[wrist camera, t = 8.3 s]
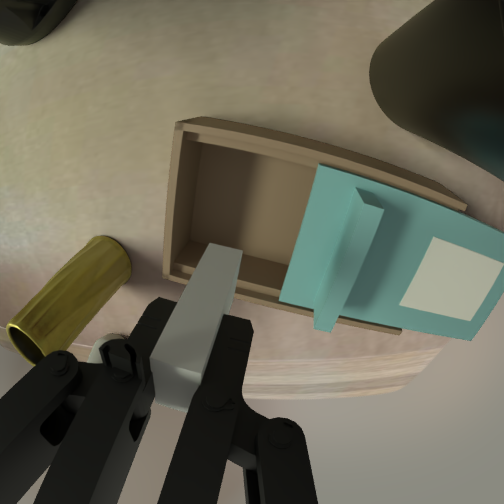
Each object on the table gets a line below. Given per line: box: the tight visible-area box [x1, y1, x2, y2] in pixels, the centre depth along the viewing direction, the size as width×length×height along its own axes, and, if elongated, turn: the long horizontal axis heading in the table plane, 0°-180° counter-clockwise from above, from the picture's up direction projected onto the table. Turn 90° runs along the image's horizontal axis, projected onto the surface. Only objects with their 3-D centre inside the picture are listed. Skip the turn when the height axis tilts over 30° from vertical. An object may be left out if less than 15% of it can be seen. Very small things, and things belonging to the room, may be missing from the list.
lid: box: [279, 163, 504, 341], centre depth 18 cm, size 10×19×4 cm, turn 79°
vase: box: [6, 236, 131, 366], centre depth 24 cm, size 6×6×14 cm
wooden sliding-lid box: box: [162, 116, 467, 335], centre depth 22 cm, size 12×20×5 cm, turn 79°
